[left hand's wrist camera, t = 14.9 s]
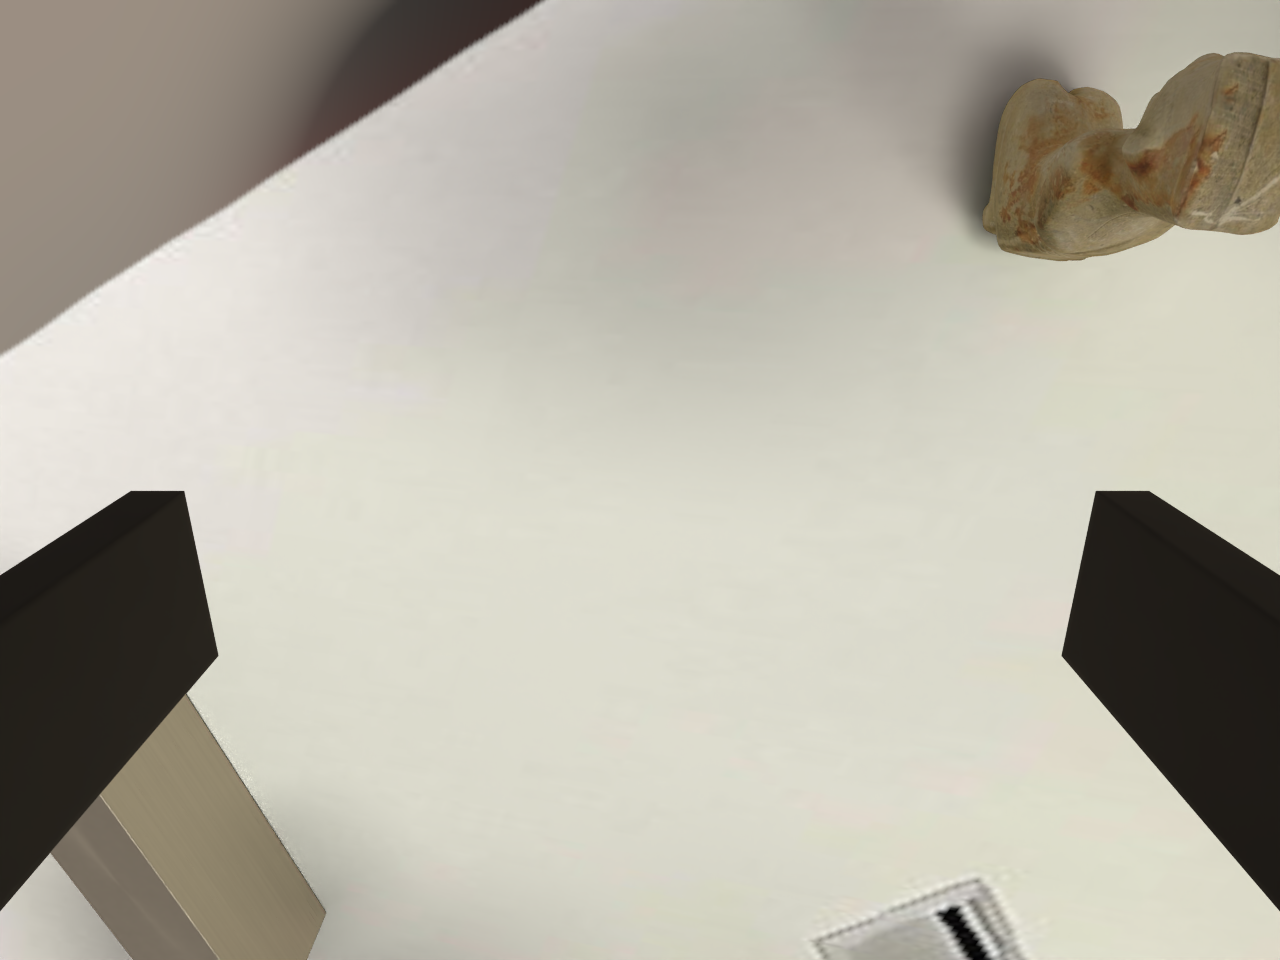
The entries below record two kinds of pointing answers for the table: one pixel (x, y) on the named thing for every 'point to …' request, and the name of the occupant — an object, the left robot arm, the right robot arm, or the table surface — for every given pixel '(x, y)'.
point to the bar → (188, 857)
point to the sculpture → (1138, 162)
